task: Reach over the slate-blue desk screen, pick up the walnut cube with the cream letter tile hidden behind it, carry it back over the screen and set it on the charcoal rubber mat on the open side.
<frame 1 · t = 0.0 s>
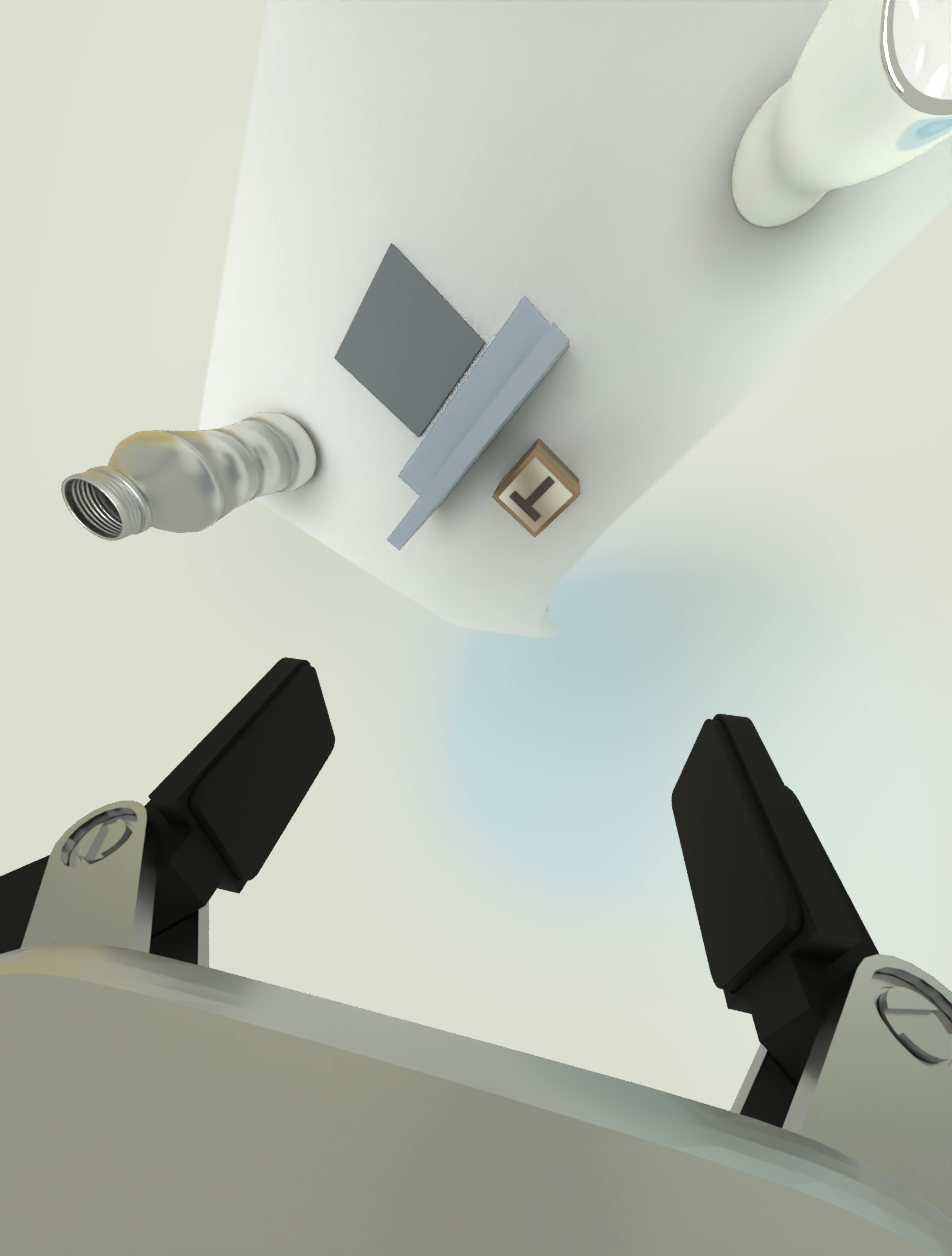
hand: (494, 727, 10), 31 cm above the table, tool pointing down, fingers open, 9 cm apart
letter cube: (538, 480, 36), on the table
screen: (490, 432, 35), on the table
mat: (408, 350, 33), on the table
plastic bottle: (294, 447, 39), on the table
beer glass: (787, 158, 24), on the table
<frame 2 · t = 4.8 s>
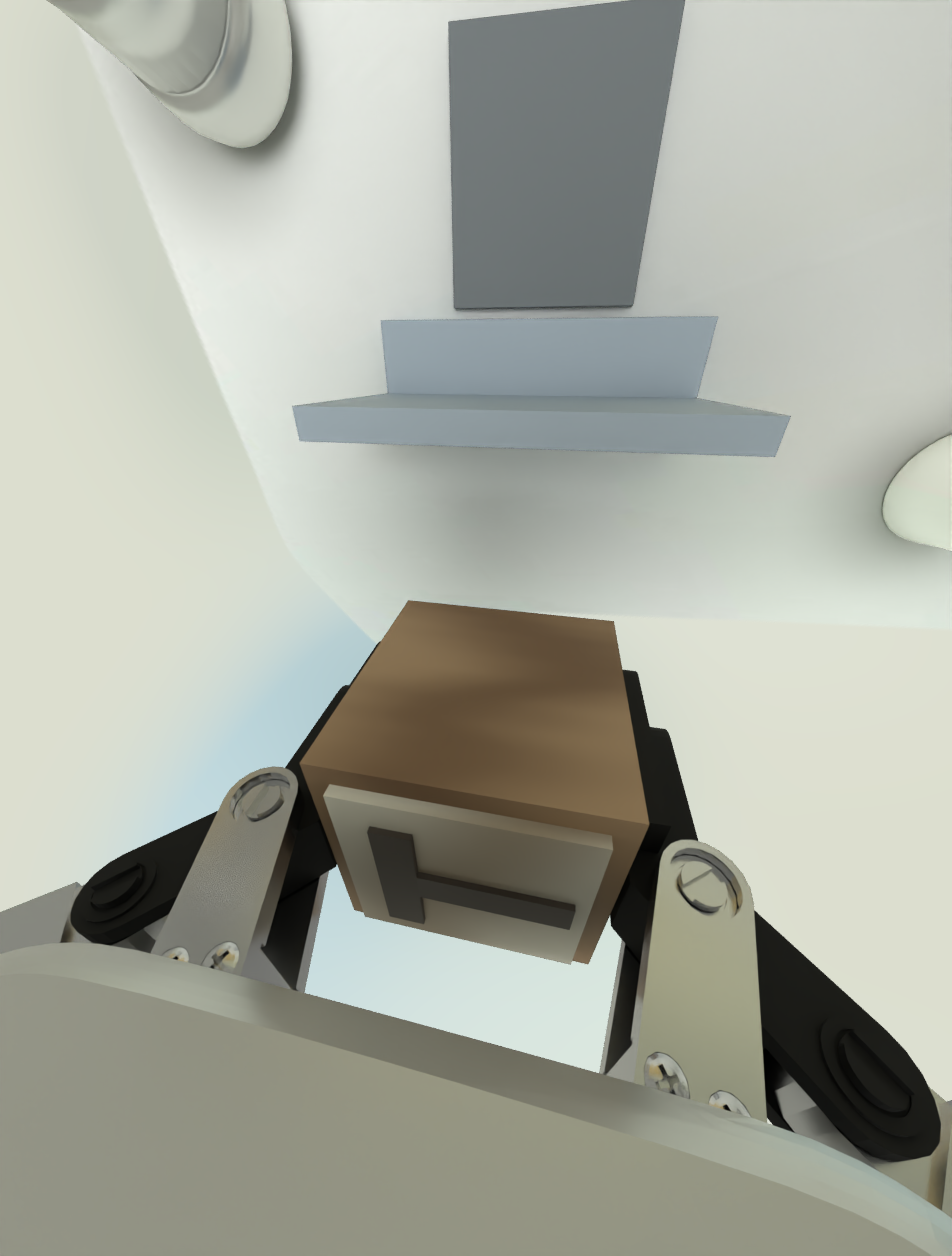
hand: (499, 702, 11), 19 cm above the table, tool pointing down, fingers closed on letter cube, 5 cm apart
letter cube: (502, 687, 11), point 18 cm above the table, touching gripper
screen: (533, 406, 23), on the table
mat: (550, 183, 18), on the table
plastic bottle: (246, 58, 18), on the table
beer glass: (947, 486, 22), on the table
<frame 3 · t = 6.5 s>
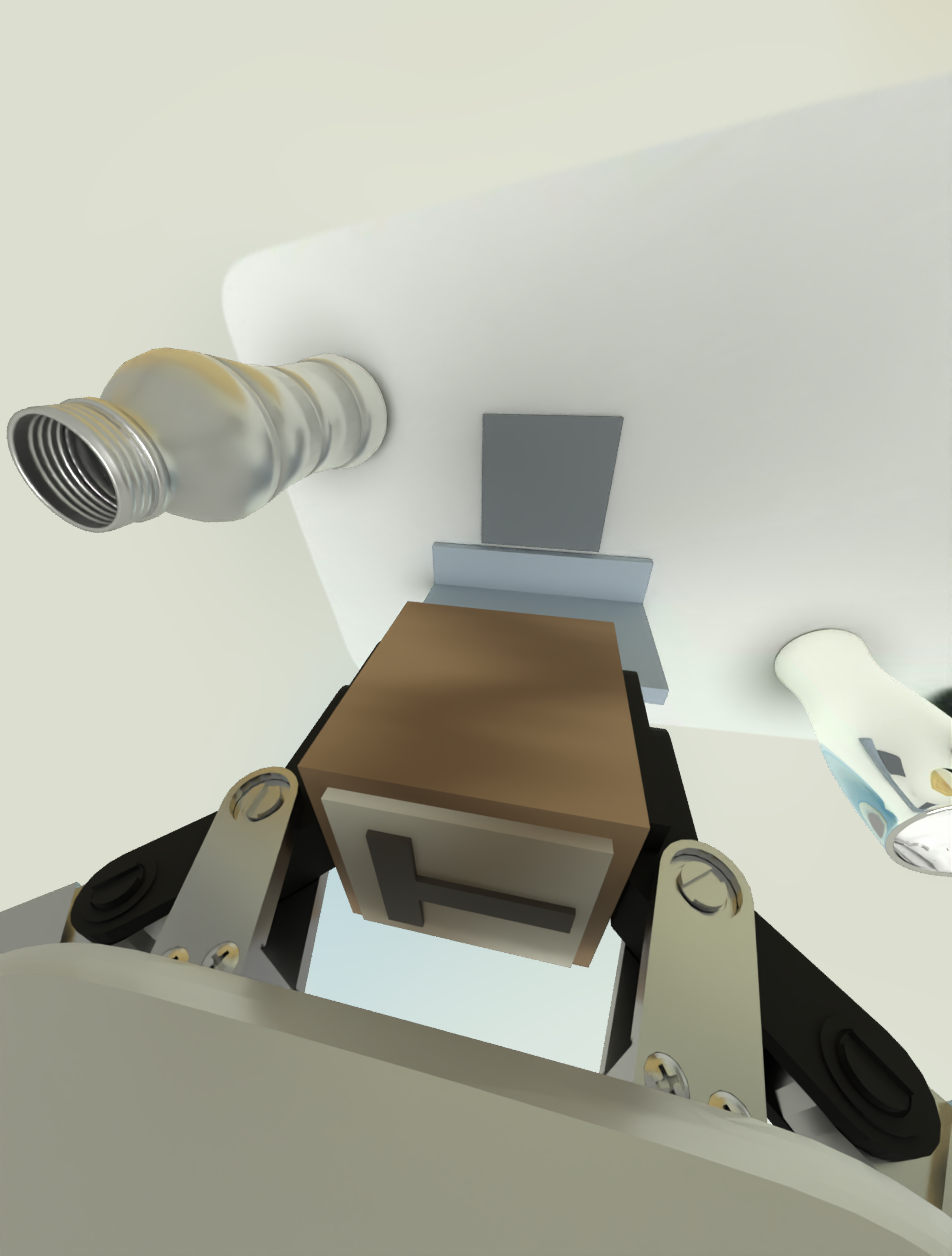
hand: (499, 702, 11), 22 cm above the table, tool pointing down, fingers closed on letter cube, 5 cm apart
letter cube: (502, 688, 11), point 22 cm above the table, touching gripper
screen: (534, 594, 34), on the table
mat: (544, 485, 29), on the table
plastic bottle: (354, 410, 29), on the table
beer glass: (816, 658, 32), on the table
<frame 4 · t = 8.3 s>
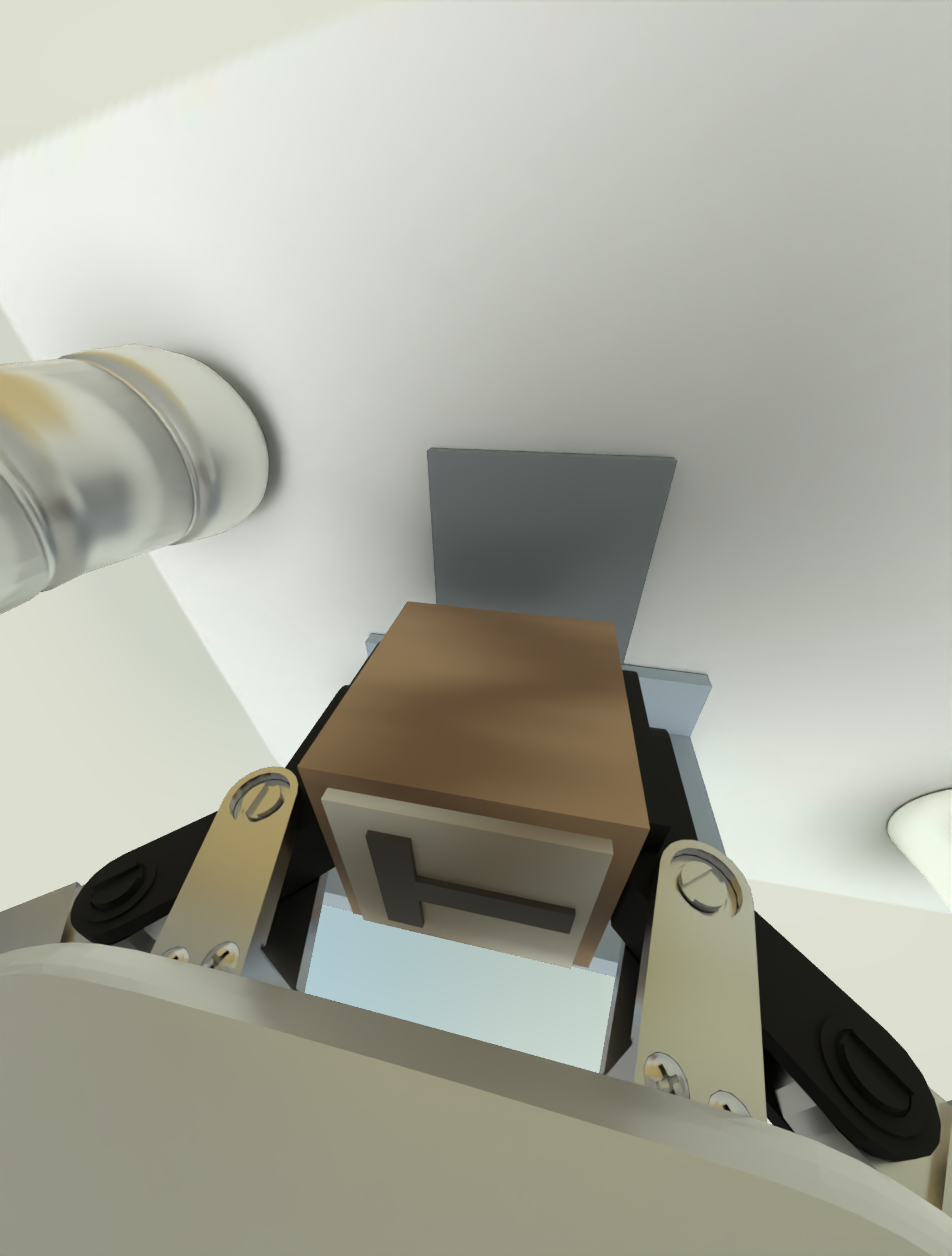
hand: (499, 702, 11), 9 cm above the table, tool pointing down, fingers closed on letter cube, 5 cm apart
letter cube: (502, 689, 11), point 8 cm above the table, touching gripper
screen: (522, 709, 23), on the table
mat: (536, 562, 18), on the table
plastic bottle: (224, 438, 18), on the table
when the fingers open (3 cm above the table, at t = 9.8 s): letter cube drops 1 cm, resting on mat.
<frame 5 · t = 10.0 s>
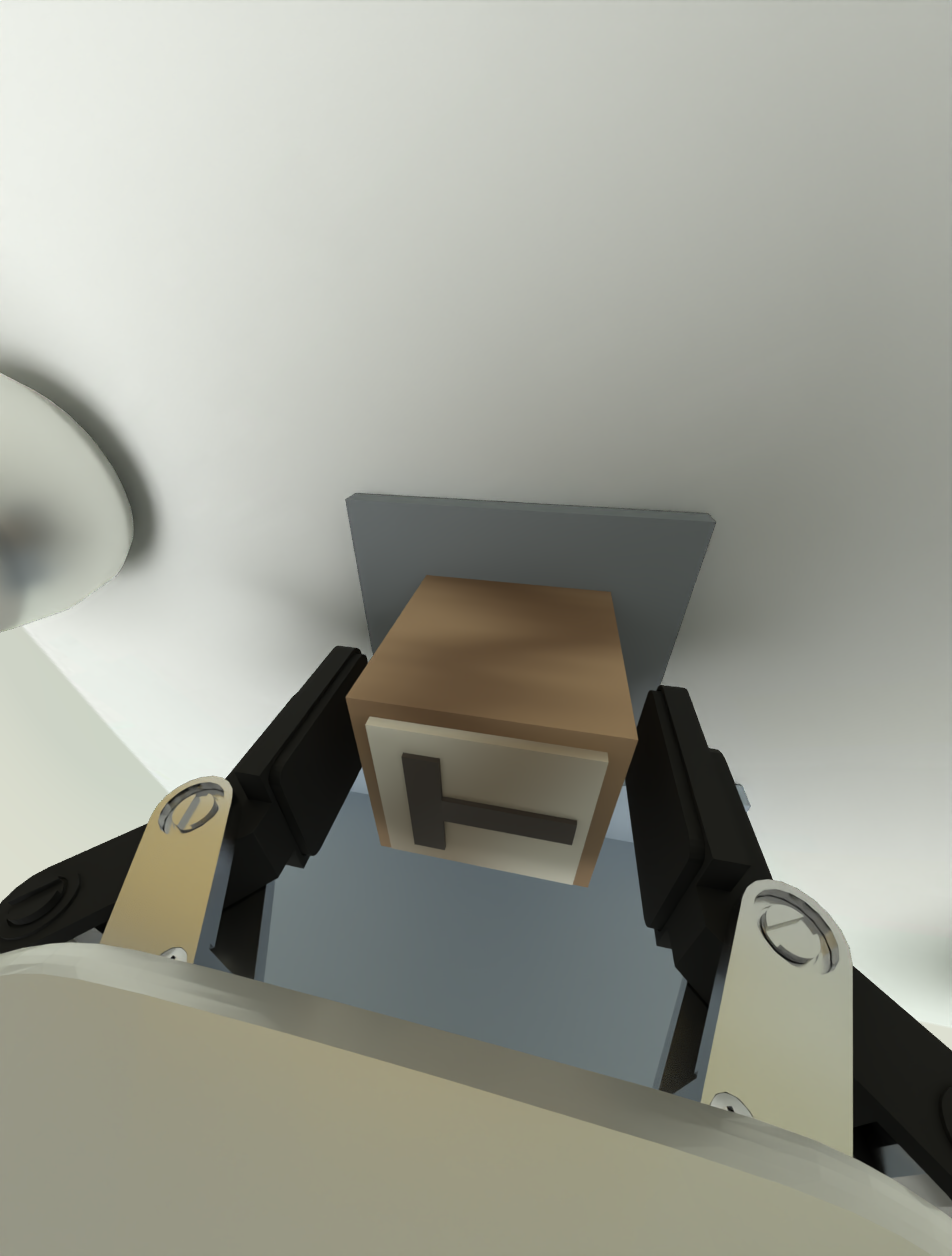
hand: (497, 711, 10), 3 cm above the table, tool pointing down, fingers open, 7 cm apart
letter cube: (510, 656, 12), point 1 cm above the table, touching mat
screen: (500, 809, 18), on the table
mat: (510, 644, 13), on the table
plastic bottle: (75, 475, 13), on the table
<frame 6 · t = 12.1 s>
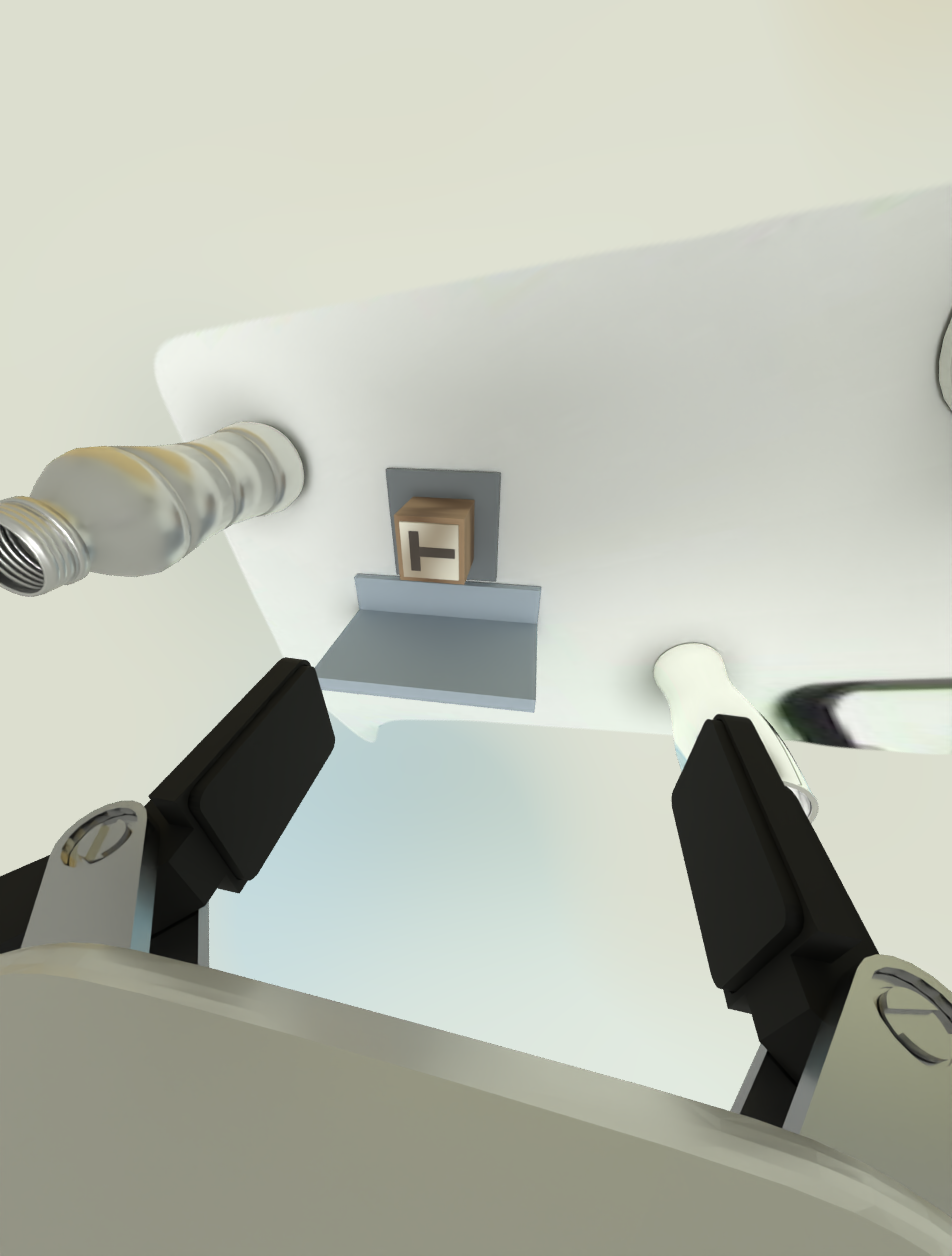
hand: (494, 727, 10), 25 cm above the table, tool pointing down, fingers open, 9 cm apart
letter cube: (444, 528, 33), point 1 cm above the table, touching mat
screen: (448, 617, 39), on the table
mat: (445, 526, 34), on the table
plastic bottle: (277, 462, 33), on the table
beer glass: (686, 667, 38), on the table
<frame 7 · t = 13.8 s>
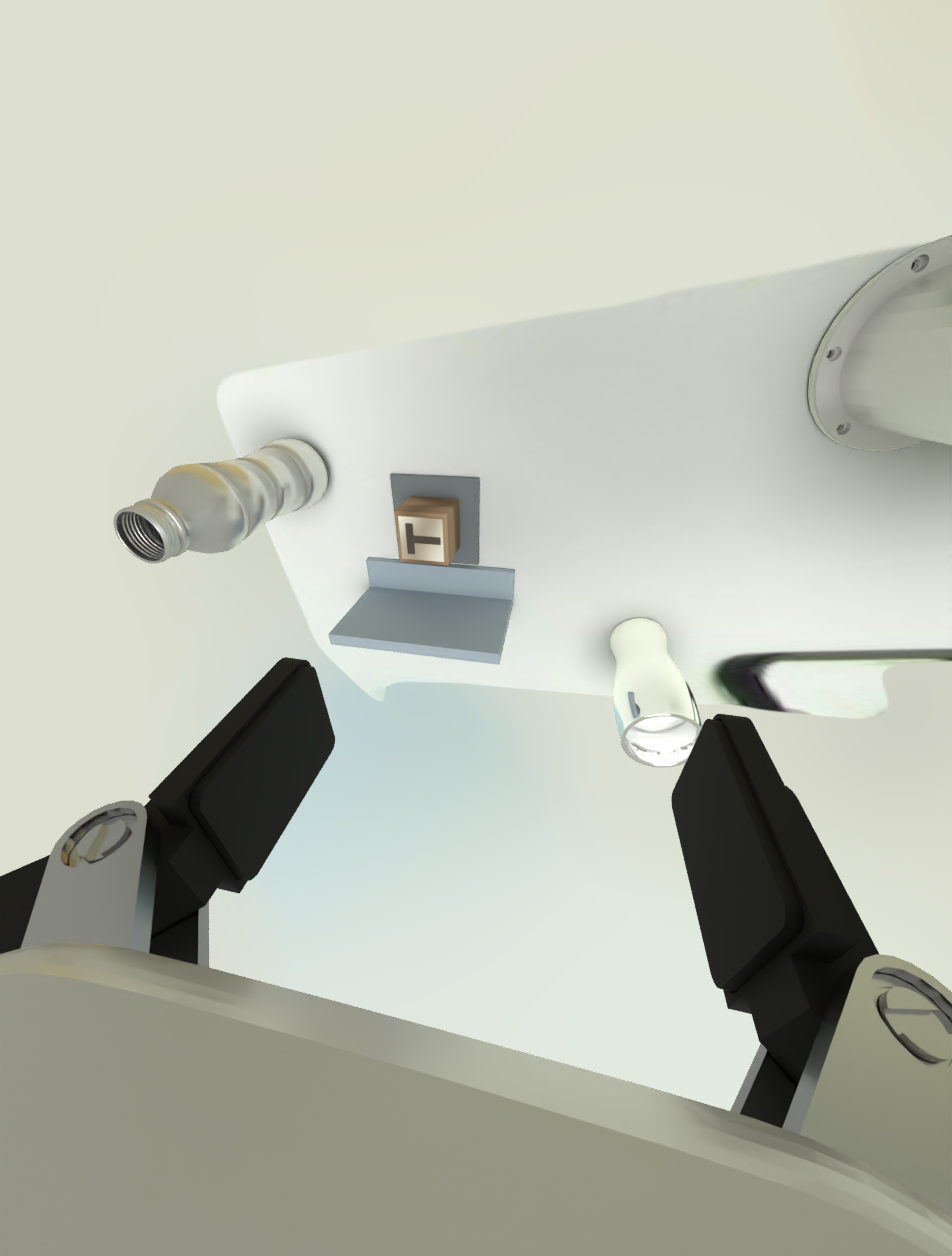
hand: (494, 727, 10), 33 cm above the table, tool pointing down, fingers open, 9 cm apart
letter cube: (436, 521, 42), point 1 cm above the table, touching mat
screen: (441, 594, 47), on the table
mat: (437, 519, 42), on the table
plastic bottle: (307, 468, 42), on the table
beer glass: (637, 638, 46), on the table
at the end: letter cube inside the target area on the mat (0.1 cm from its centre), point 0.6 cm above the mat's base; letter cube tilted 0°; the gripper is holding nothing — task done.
